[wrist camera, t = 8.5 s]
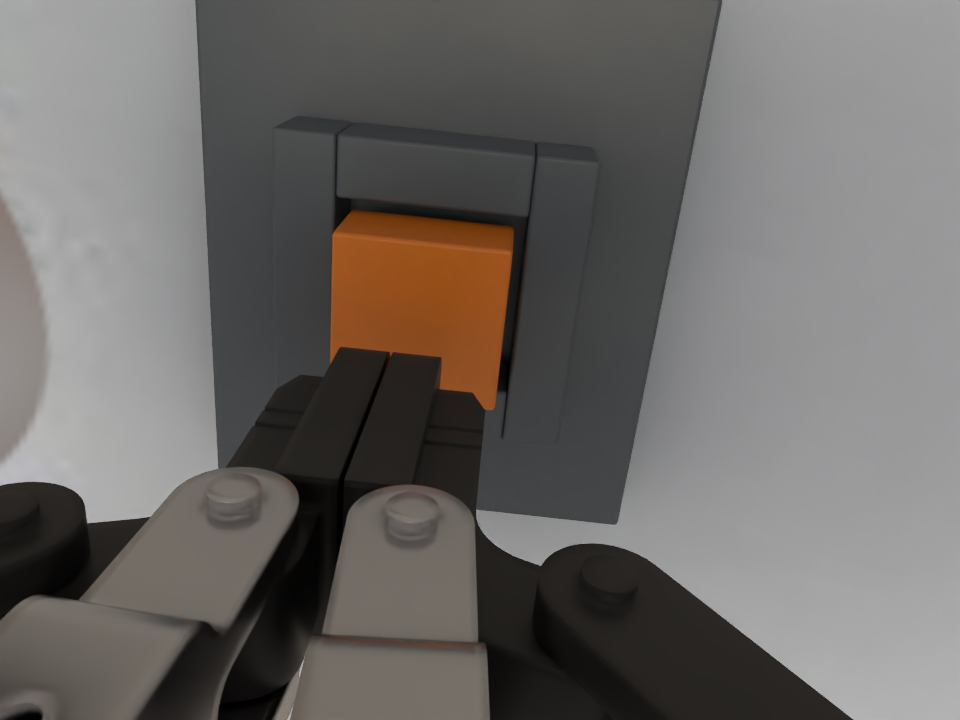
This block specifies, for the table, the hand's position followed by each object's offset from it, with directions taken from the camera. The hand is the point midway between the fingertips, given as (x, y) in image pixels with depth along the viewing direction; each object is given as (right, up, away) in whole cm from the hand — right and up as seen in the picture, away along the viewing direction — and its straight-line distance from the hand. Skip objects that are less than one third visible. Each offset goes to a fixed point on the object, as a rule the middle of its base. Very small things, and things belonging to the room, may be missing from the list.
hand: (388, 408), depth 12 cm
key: (0, +2, +4) cm, 5 cm away
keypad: (0, +3, +7) cm, 7 cm away
